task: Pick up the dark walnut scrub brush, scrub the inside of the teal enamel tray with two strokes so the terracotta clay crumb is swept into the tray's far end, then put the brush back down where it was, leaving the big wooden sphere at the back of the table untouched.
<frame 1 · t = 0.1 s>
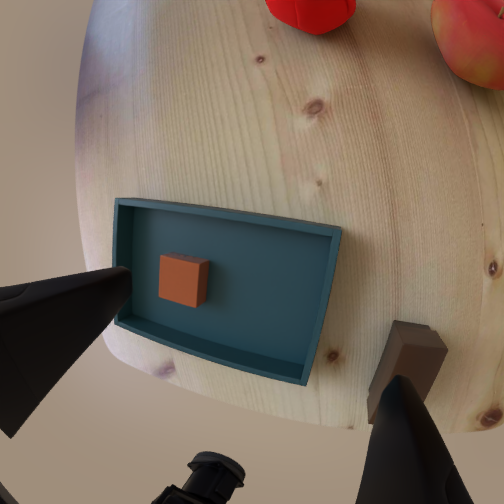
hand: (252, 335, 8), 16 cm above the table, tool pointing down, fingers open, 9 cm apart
flower: (314, 18, 19), on the table
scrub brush: (398, 359, 22), on the table
tray: (215, 280, 26), on the table
apple: (462, 62, 15), on the table
clay crumb: (188, 276, 26), point 1 cm above the table, touching tray
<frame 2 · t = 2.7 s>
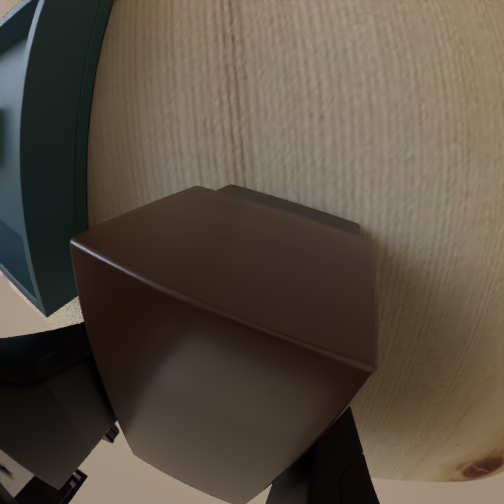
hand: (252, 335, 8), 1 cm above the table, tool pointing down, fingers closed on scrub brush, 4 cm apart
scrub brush: (262, 315, 9), on the table, touching gripper
tray: (6, 135, 11), on the table
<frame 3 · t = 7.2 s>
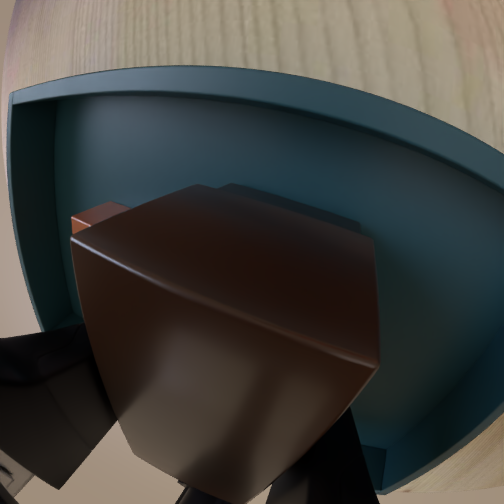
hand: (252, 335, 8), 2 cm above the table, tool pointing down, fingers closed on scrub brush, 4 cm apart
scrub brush: (263, 314, 9), point 1 cm above the table, touching gripper
tray: (228, 286, 10), on the table
clay crumb: (147, 262, 10), point 1 cm above the table, touching gripper, tray
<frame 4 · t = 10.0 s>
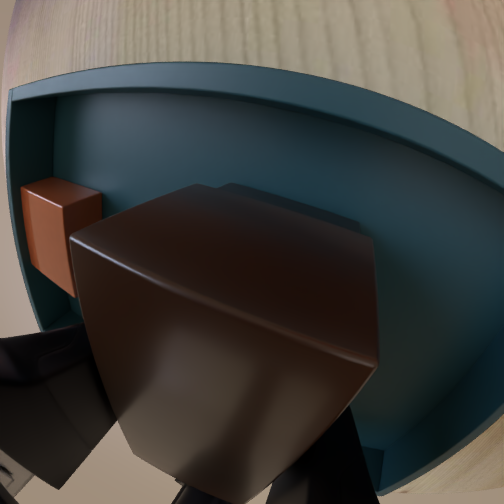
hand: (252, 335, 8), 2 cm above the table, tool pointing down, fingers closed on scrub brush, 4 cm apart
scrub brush: (263, 314, 9), point 1 cm above the table, touching gripper
tray: (226, 285, 10), on the table
clay crumb: (76, 224, 11), point 1 cm above the table, touching tray
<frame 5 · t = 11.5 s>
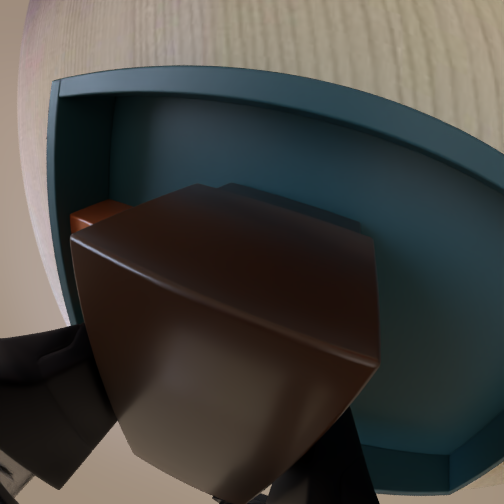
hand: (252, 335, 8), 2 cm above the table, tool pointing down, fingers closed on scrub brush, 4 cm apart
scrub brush: (263, 314, 9), point 1 cm above the table, touching gripper
tray: (348, 329, 9), on the table
clay crumb: (147, 261, 10), point 1 cm above the table, touching gripper, tray
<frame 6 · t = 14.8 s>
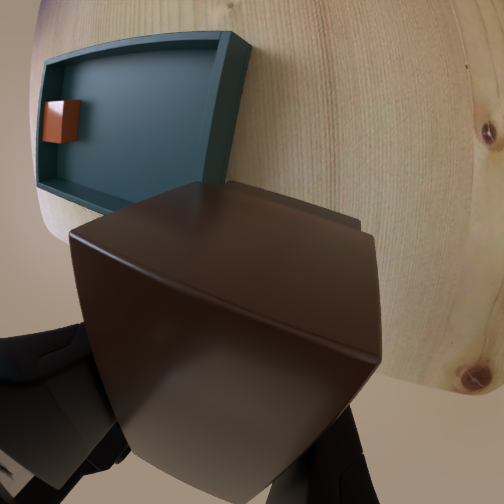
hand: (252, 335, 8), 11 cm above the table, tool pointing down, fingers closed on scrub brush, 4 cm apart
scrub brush: (263, 312, 9), point 10 cm above the table, touching gripper
tray: (121, 124, 19), on the table
clay crumb: (68, 119, 20), point 1 cm above the table, touching tray
when the fingers open (1 cm above the table, at t = 17.4 s): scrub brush stays where it is, on the table.
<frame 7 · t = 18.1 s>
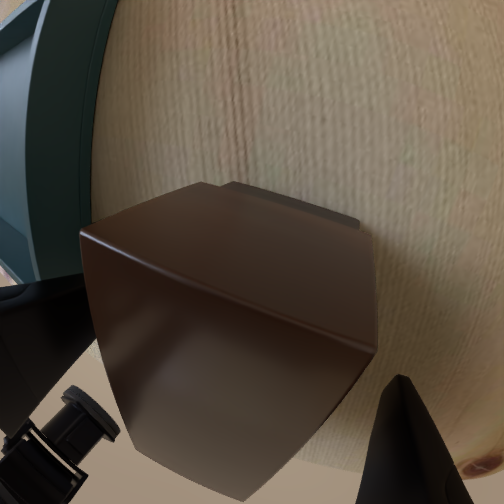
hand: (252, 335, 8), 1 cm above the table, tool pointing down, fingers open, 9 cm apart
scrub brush: (264, 310, 9), on the table
tray: (9, 135, 11), on the table
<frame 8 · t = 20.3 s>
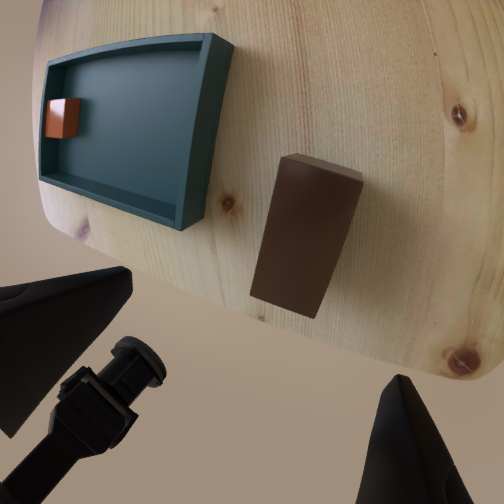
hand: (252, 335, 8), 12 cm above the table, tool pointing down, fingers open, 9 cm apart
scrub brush: (315, 218, 18), on the table
tray: (117, 120, 21), on the table
clay crumb: (69, 116, 22), point 1 cm above the table, touching tray
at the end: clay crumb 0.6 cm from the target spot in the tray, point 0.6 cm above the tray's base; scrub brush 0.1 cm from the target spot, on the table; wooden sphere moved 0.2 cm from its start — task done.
